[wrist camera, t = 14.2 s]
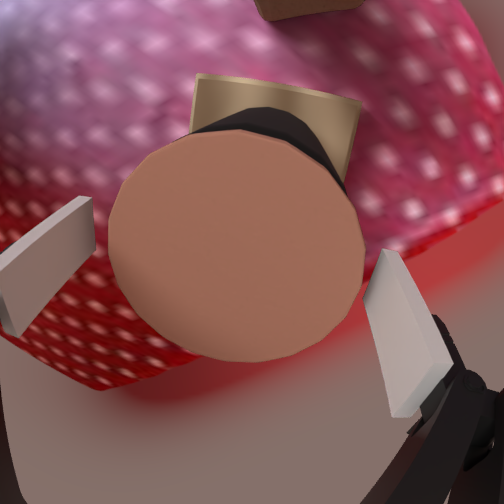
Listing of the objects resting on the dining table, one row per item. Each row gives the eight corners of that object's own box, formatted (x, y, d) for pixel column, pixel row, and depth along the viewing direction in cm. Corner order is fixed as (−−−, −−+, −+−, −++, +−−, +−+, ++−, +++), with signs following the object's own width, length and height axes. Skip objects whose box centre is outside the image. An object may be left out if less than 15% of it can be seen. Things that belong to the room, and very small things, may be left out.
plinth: (190, 210, 36) (179, 224, 32) (205, 74, 28) (193, 72, 25) (323, 235, 35) (326, 252, 32) (355, 100, 28) (364, 102, 24)
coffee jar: (184, 145, 28) (64, 224, 12) (285, 84, 25) (278, 70, 9) (245, 237, 32) (202, 384, 16) (343, 187, 28) (400, 314, 13)
